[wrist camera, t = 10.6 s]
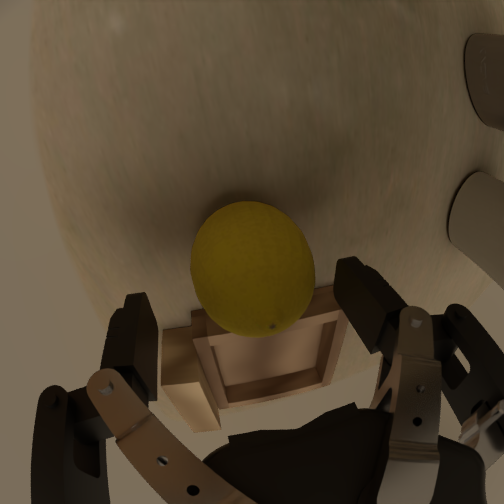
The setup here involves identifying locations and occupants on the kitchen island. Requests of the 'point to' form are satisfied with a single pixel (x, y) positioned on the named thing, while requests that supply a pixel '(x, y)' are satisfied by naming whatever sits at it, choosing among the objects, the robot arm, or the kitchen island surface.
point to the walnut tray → (271, 354)
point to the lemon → (252, 269)
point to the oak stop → (187, 381)
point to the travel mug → (480, 223)
